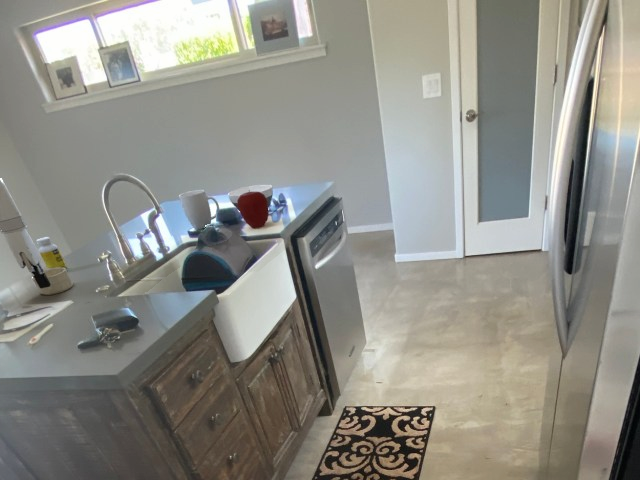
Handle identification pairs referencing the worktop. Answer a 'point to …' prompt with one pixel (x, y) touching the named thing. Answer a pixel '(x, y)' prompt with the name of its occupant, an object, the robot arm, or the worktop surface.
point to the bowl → (264, 189)
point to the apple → (253, 208)
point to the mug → (197, 208)
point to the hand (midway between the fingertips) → (45, 286)
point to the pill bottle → (50, 254)
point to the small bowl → (55, 281)
